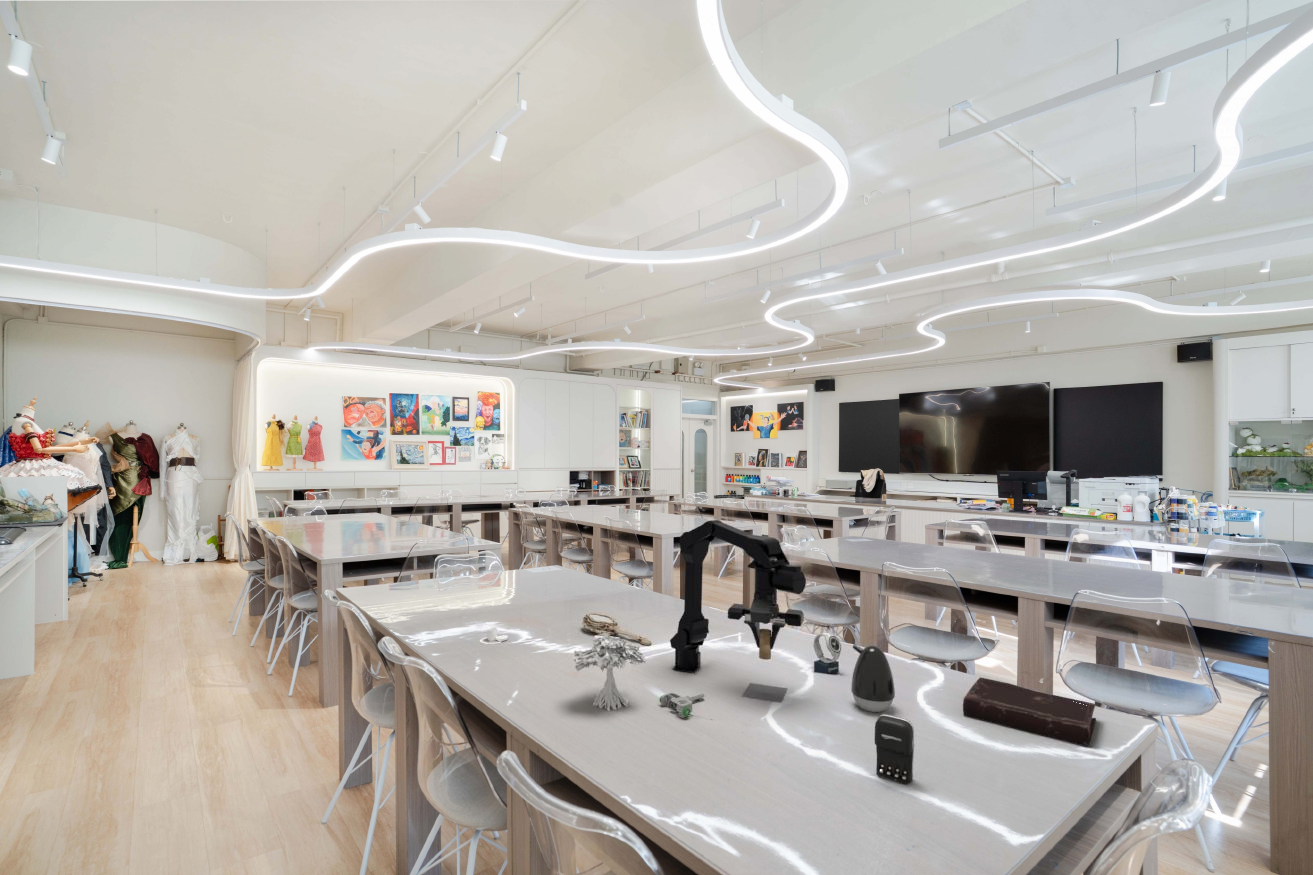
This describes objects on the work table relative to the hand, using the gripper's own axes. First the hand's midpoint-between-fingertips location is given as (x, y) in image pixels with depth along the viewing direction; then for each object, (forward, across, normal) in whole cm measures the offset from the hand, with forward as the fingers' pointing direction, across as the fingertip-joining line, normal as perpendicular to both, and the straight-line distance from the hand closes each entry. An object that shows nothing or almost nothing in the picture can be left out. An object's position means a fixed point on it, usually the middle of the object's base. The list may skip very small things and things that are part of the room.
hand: (765, 648), depth 162 cm
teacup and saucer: (+13, -90, +10) cm, 92 cm away
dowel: (+2, 0, 0) cm, 2 cm away
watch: (+12, +13, +24) cm, 30 cm away
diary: (+13, +61, +11) cm, 64 cm away
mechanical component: (+11, -13, -10) cm, 20 cm away
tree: (+12, -35, -19) cm, 42 cm away
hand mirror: (+13, -56, +32) cm, 66 cm away
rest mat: (+12, 0, 0) cm, 12 cm away
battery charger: (+12, +31, -31) cm, 46 cm away
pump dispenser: (+12, +26, +3) cm, 29 cm away
